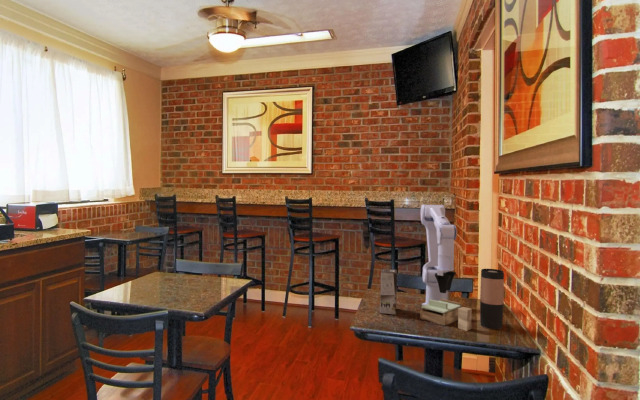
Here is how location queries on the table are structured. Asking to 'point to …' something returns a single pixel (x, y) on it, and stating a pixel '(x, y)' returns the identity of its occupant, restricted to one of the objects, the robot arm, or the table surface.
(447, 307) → the cabinet door
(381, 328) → the table surface
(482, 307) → the travel mug
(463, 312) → the wooden block
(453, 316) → the wooden box
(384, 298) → the coffee box
